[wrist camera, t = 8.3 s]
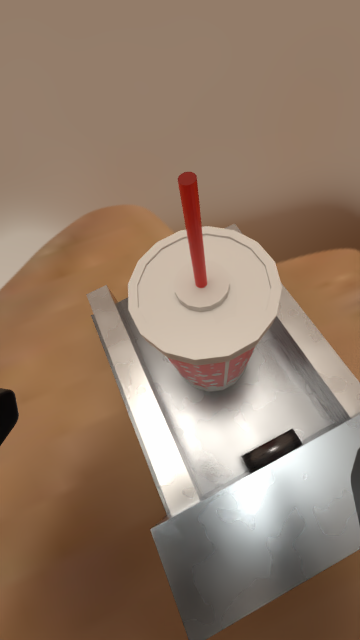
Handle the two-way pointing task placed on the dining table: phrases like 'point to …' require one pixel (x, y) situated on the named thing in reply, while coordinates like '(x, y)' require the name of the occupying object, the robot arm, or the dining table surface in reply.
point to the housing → (242, 463)
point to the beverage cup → (204, 297)
